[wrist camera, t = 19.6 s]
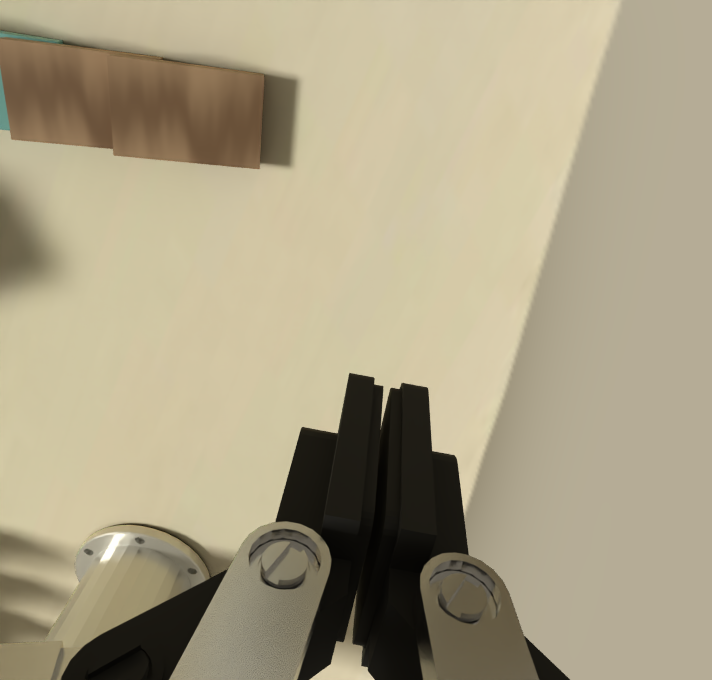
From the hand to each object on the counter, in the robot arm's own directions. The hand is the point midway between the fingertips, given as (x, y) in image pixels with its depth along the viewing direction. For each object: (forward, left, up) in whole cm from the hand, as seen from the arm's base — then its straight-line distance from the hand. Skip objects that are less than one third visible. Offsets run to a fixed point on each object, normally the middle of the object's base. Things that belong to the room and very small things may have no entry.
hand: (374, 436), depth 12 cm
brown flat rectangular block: (+2, +8, -24) cm, 26 cm away
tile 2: (+2, +14, -24) cm, 28 cm away
